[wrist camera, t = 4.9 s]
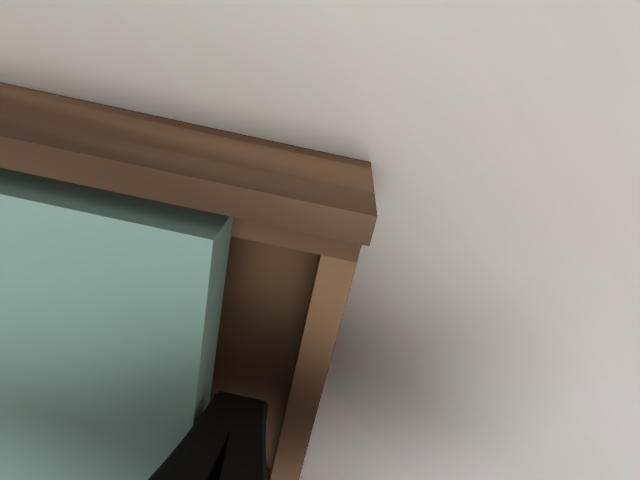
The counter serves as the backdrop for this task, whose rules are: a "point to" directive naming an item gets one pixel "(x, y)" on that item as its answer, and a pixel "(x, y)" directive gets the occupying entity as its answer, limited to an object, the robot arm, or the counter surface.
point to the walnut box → (246, 236)
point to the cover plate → (103, 328)
